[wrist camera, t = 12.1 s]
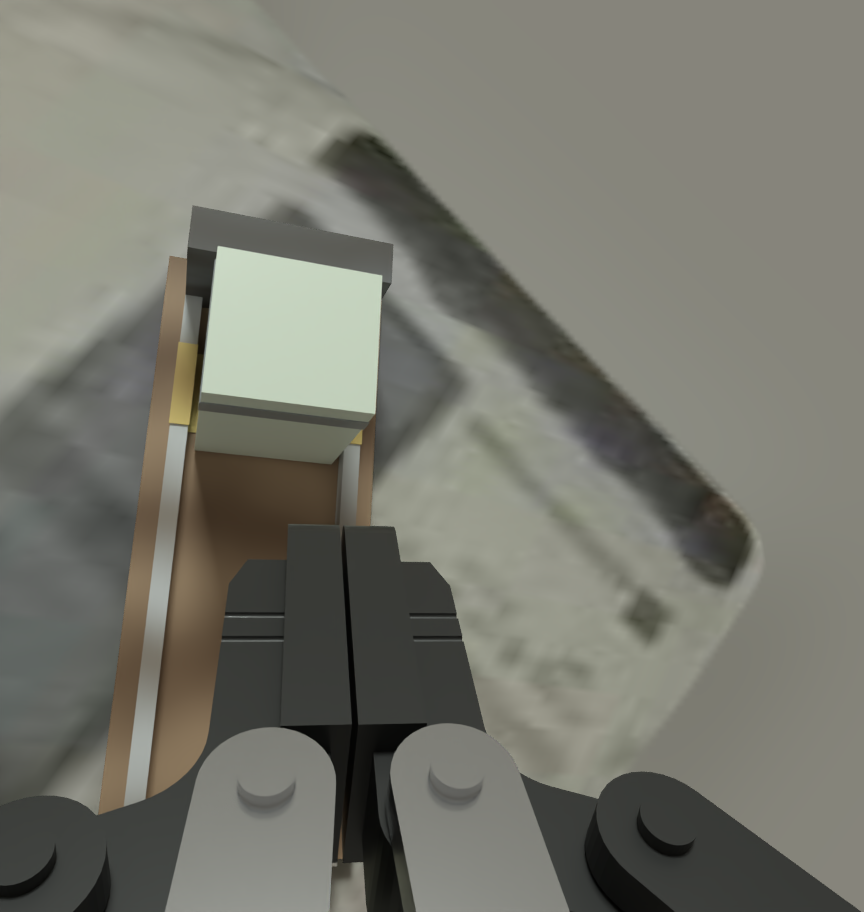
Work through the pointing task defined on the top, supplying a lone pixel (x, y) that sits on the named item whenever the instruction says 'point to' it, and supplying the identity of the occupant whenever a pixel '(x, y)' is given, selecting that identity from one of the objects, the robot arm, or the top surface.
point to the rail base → (211, 514)
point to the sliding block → (287, 358)
